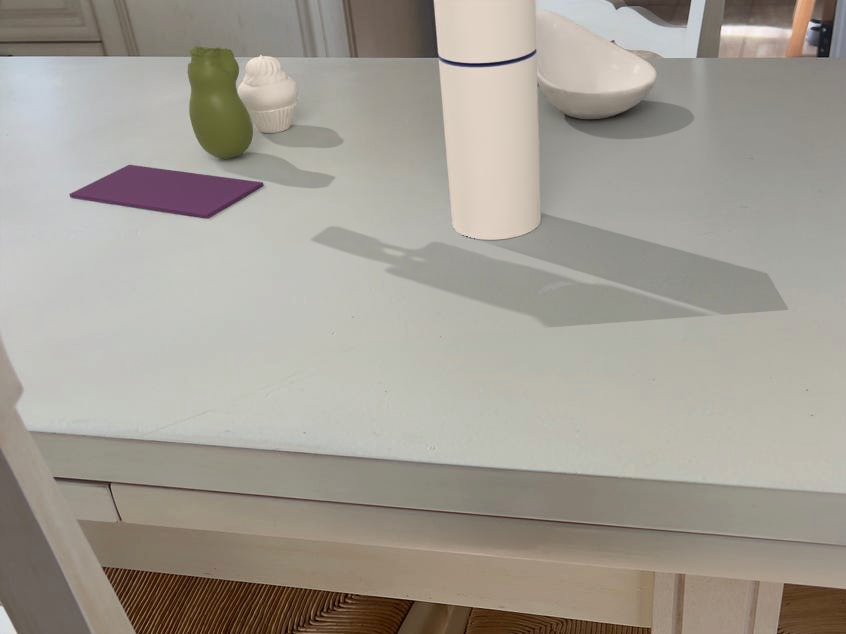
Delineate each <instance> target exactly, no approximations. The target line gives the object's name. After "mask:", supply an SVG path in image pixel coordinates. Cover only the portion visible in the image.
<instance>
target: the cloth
mask: <svg viewBox="0 0 846 634" xmlns="http://www.w3.org/2000/svg"><path fill="white" fill-rule="evenodd" d="M263 186H264V182H263V181H256V180H249V179H248V180H247V179H241V178H234V177H227V176H217V175H211V174H202V173H195V172H187V171H182V170H181V171H180V170H173V169H164V168H158V167H151V166H143V165H142V166H141V165H135V164H128V165H125V166H123V167H121V168H119V169H117V170H115V171H113V172H111V173H109V174H107V175H105V176H103V177H101V178H99V179H97V180H95V181H93V182H91V183H89V184H86V185H84V186H83V187H81V188H78V189H77V190H75V191H72V192H71V193H69V197H70V198H71V199H72V198H73V199H80V200H87V201H93V202H99V203H106V204H112V205H117V206H126V207H131V208H132V207H133V208H137V209H138V208H139V209H145V210H152V211H158V212H164V213H165V212H166V213H171V214H177V215H182V216H183V215H184V216H191V217H198V218H203V219H209V218H211V217H212V216H214V215H216V214H217V213H219V212H221V211H223V210H225V209H226V208H228V207H230V206H231V205H233V204H235V203H237V202H238V201H239V200H241V199H243V198H246V197H247V196H248V195H250V194H251V193H253V192H255V191H256V190H258V189H260V188H262V187H263Z"/></svg>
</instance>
